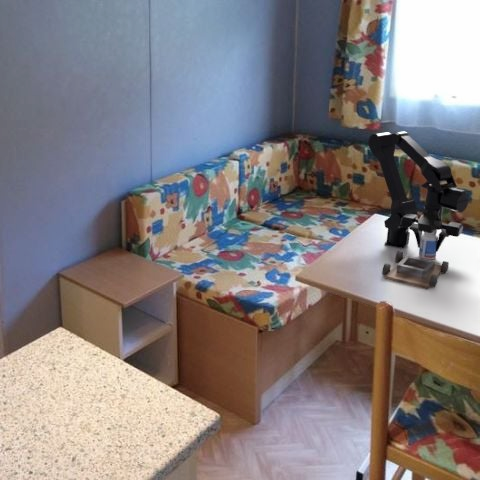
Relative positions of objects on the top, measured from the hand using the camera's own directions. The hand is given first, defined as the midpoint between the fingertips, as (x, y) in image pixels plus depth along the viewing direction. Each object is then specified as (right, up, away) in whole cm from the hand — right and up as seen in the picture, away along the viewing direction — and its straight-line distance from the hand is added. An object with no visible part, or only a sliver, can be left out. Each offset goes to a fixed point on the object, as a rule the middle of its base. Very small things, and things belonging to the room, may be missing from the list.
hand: (427, 249), depth 220 cm
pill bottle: (0, -3, +1) cm, 3 cm away
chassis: (-7, -7, -12) cm, 16 cm away
